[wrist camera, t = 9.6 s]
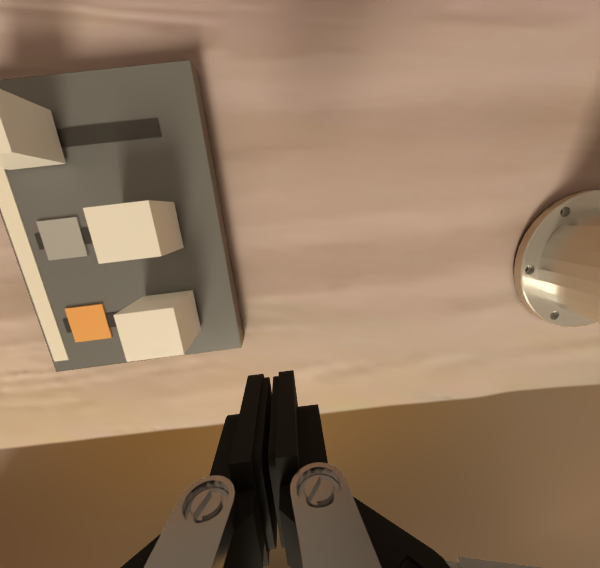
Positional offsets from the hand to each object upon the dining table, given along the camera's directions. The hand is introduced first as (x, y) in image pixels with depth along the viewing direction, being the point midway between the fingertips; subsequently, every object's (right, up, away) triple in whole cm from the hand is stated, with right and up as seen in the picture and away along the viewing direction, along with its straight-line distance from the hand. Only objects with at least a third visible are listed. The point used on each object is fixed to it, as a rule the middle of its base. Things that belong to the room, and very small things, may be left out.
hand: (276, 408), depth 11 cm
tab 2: (-11, +9, +12) cm, 19 cm away
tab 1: (-18, +15, +11) cm, 26 cm away
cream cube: (-10, +2, +14) cm, 17 cm away
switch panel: (-14, +9, +14) cm, 22 cm away
